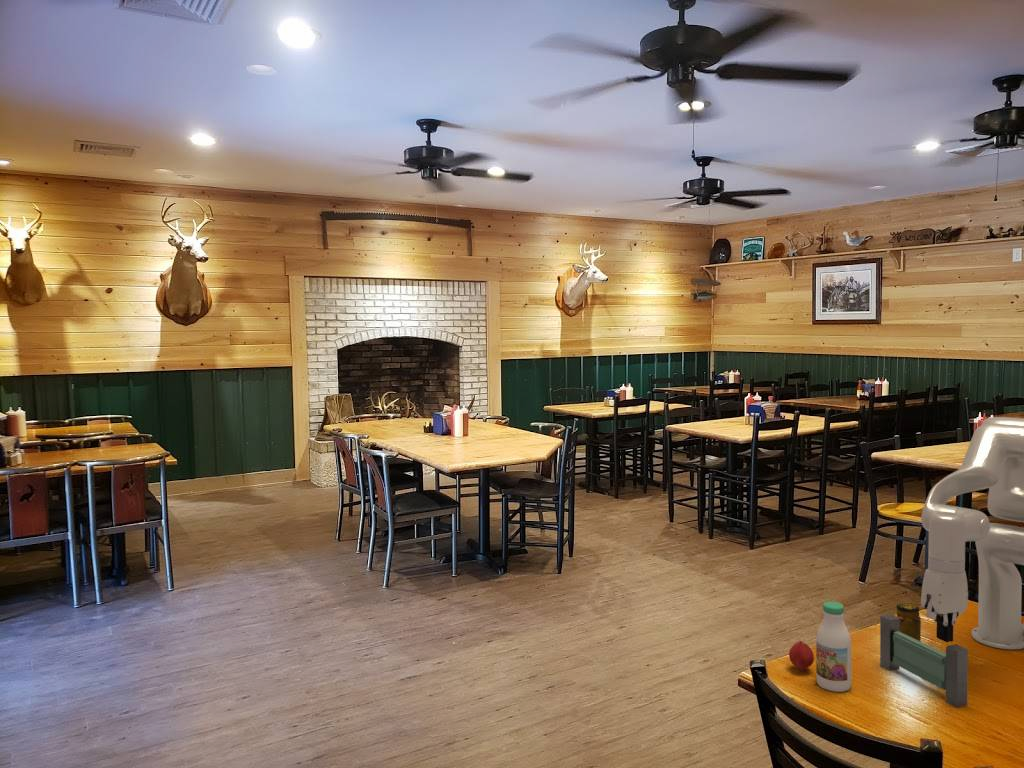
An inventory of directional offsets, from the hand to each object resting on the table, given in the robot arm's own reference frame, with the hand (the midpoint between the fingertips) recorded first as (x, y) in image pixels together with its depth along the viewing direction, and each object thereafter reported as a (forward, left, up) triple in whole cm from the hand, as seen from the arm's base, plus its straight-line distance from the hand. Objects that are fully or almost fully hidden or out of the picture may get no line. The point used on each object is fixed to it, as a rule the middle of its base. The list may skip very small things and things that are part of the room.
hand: (944, 639), depth 176 cm
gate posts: (+6, -1, -10) cm, 12 cm away
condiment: (-6, -15, -11) cm, 19 cm away
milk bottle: (+25, -8, -11) cm, 29 cm away
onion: (+27, -17, -11) cm, 34 cm away
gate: (+7, -1, -8) cm, 11 cm away
